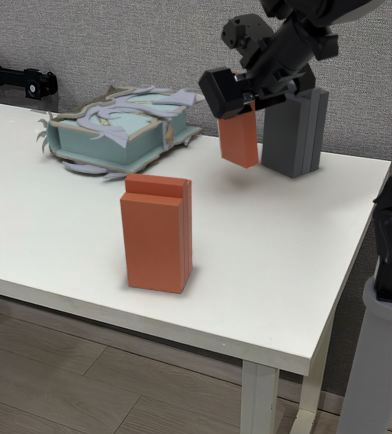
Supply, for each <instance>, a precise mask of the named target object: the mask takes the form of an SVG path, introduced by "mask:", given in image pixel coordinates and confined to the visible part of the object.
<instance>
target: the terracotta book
mask: <svg viewBox="0 0 392 434" xmlns="http://www.w3.org/2000/svg"><path fill="white" fill-rule="evenodd" d="M232 73H235V74H236V75H237V74H241V73H240V72H235V71H232ZM250 106H251V108H252V110H253V111H252V112H249V113H246V114H243V115H240V116H237V117H234V118H231V119H228V120H224V119H220V120H219V119H217V118H216V121H217V123H216V124H217V130H218V131H217V133H218V142H219V152H220V158H221V159H222V160H223V159H224V160H225V161H228V162H230V163H233V164H234V165H236V166H240V167H242V168H244V169H246V170H247V169H250V168H252V167H255V166H257V165H259V164H260V163H259V161H260V160H259V148H258V146H259V145H258V134H257V133H258V132H257V117H256V115H257V114H256V111H255V100H254V101H253V102H252V103H250Z"/></svg>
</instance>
